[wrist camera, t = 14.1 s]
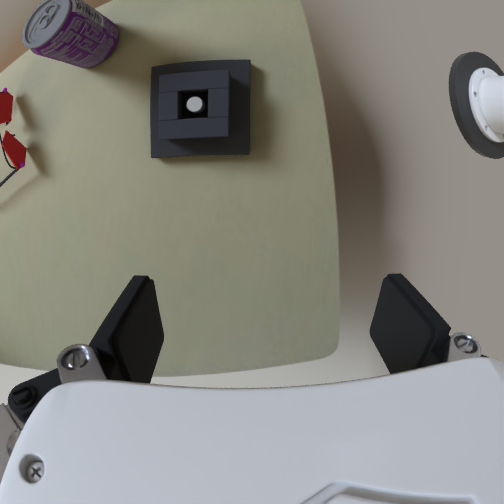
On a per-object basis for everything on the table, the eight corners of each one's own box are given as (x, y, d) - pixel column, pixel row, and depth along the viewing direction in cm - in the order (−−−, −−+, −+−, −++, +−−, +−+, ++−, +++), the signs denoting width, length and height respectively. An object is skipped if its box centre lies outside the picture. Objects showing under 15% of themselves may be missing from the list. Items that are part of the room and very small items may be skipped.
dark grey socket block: (230, 75, 25) (229, 69, 23) (229, 136, 28) (228, 136, 25) (167, 80, 25) (159, 75, 22) (166, 139, 28) (158, 140, 25)
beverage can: (90, 19, 21) (41, -9, 10) (130, 25, 23) (86, -11, 12) (66, 64, 24) (9, 50, 13) (104, 73, 25) (48, 55, 14)
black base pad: (250, 62, 26) (250, 53, 22) (249, 153, 30) (249, 155, 27) (155, 69, 26) (144, 61, 22) (155, 157, 30) (143, 160, 26)
